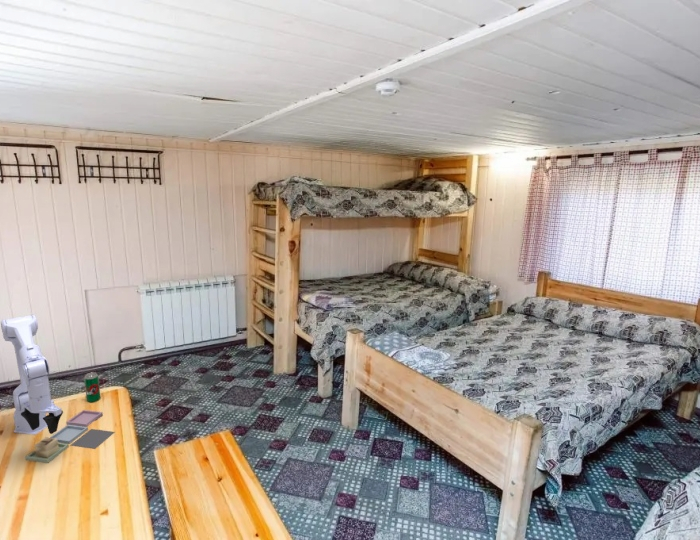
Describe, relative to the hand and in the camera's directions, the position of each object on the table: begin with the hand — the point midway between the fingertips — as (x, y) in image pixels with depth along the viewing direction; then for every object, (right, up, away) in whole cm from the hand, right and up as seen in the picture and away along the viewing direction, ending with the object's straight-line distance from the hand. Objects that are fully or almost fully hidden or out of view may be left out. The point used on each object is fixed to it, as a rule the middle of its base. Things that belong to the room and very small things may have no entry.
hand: (44, 430), depth 136 cm
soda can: (-7, -2, +36) cm, 37 cm away
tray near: (0, -9, +2) cm, 9 cm away
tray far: (-1, -5, +22) cm, 22 cm away
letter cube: (0, -9, +2) cm, 9 cm away
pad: (+10, -8, +11) cm, 16 cm away
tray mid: (0, -7, +12) cm, 14 cm away
